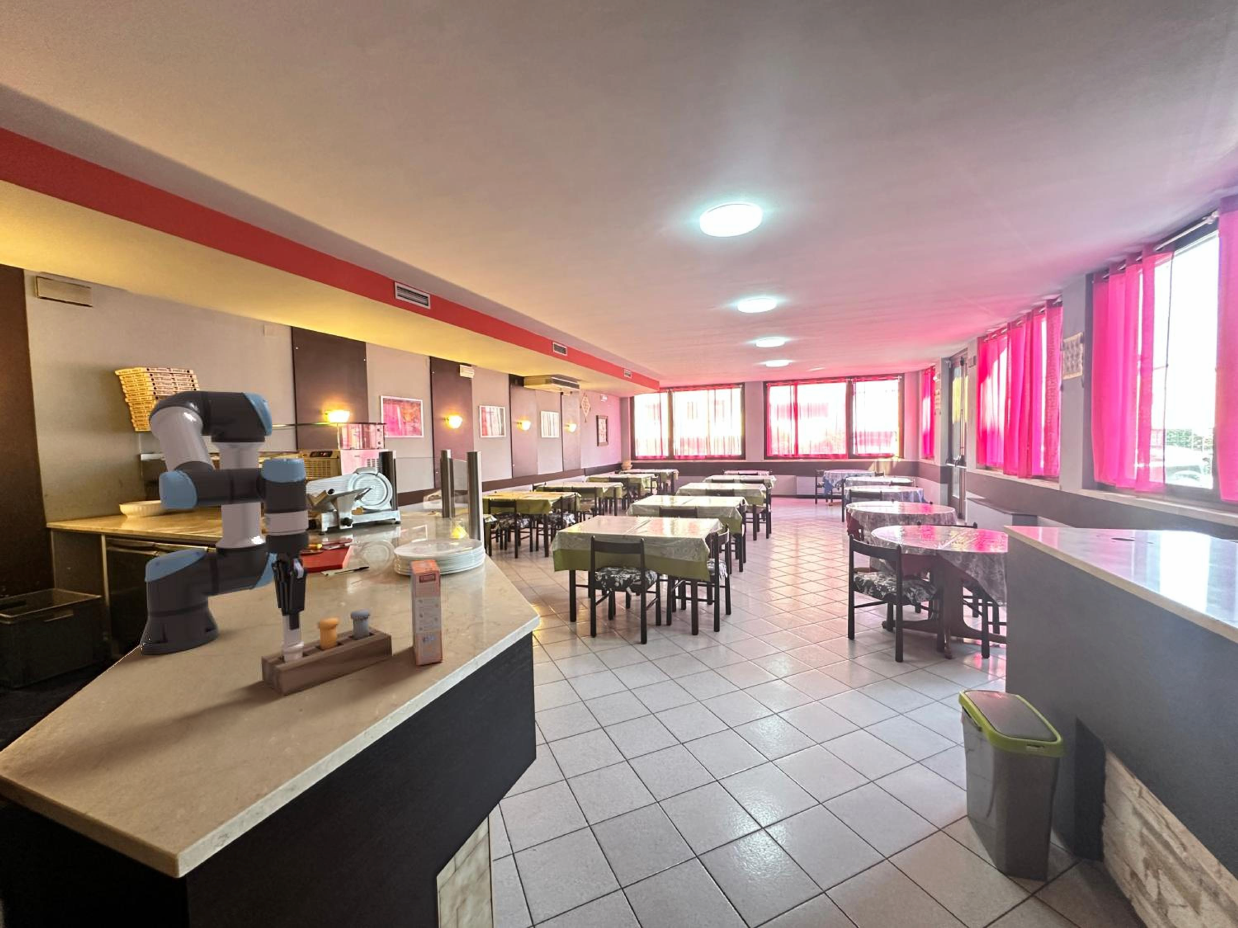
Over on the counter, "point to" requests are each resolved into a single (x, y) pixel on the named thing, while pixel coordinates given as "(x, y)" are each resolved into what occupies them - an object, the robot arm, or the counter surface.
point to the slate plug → (360, 624)
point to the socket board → (325, 661)
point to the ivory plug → (292, 652)
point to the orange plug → (328, 633)
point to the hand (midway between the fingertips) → (292, 643)
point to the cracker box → (426, 611)
